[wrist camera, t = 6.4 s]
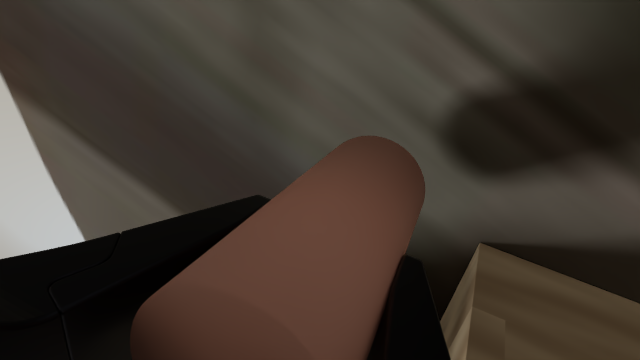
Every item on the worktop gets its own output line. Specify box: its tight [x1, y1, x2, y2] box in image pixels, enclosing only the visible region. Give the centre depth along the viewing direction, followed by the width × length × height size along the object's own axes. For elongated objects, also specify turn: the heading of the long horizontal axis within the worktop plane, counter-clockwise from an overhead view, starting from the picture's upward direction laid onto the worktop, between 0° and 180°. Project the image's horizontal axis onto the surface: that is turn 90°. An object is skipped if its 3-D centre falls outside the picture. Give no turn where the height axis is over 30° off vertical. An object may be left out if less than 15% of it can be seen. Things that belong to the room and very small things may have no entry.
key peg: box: [130, 136, 425, 360], centre depth 9 cm, size 3×3×8 cm
